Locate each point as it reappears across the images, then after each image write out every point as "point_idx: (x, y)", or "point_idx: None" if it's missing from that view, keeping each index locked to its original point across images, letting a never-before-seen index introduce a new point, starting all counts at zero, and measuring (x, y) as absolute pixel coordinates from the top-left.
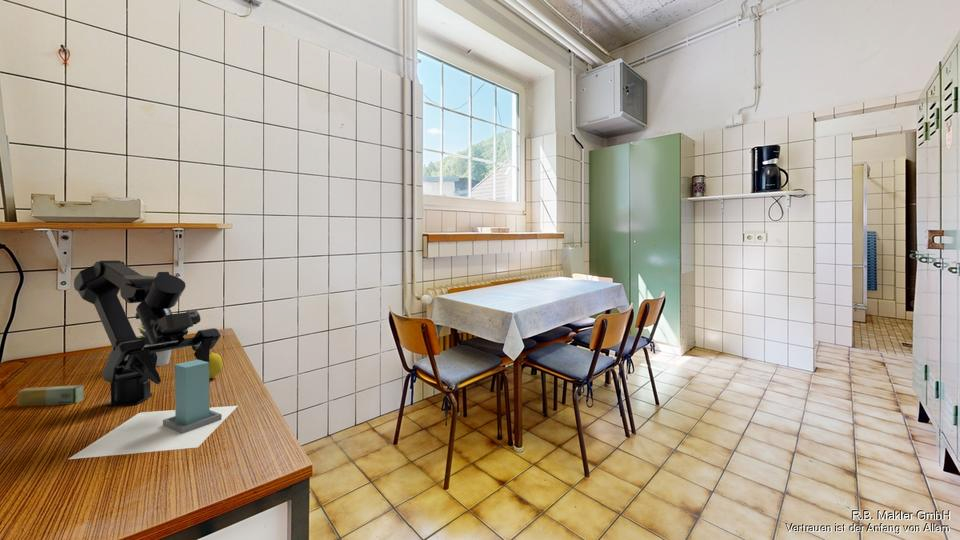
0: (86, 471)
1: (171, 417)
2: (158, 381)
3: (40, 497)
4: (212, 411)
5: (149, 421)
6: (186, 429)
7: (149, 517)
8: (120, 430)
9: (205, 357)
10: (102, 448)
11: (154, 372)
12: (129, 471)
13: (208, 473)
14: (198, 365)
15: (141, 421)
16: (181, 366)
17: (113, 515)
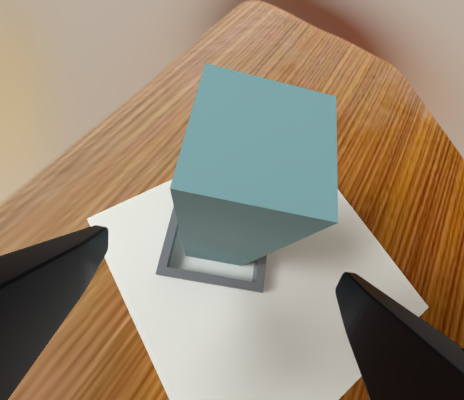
0: (402, 243)
1: (243, 286)
2: (355, 275)
3: (452, 222)
4: (174, 214)
5: (258, 365)
6: None
7: (384, 72)
8: (323, 376)
9: (21, 267)
10: None
11: (403, 311)
12: (364, 177)
13: (311, 77)
14: (266, 82)
15: (266, 394)
16: (335, 138)
17: (403, 104)
